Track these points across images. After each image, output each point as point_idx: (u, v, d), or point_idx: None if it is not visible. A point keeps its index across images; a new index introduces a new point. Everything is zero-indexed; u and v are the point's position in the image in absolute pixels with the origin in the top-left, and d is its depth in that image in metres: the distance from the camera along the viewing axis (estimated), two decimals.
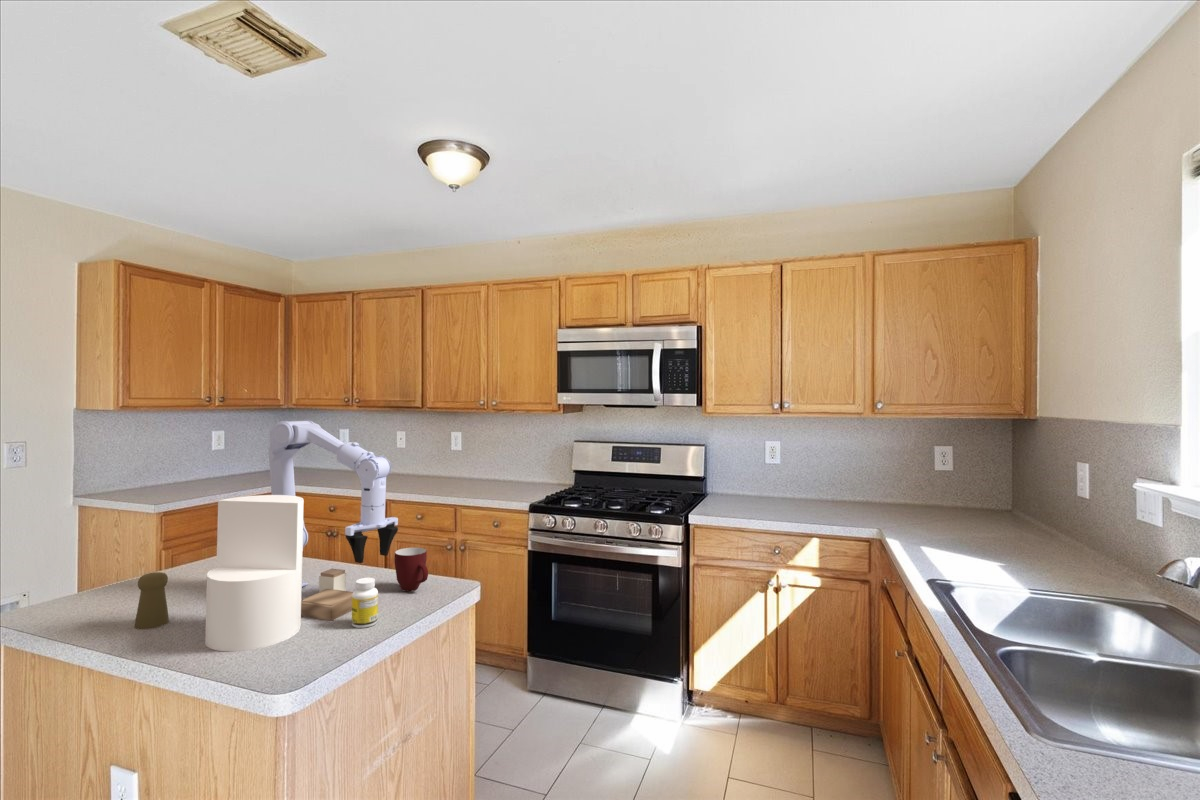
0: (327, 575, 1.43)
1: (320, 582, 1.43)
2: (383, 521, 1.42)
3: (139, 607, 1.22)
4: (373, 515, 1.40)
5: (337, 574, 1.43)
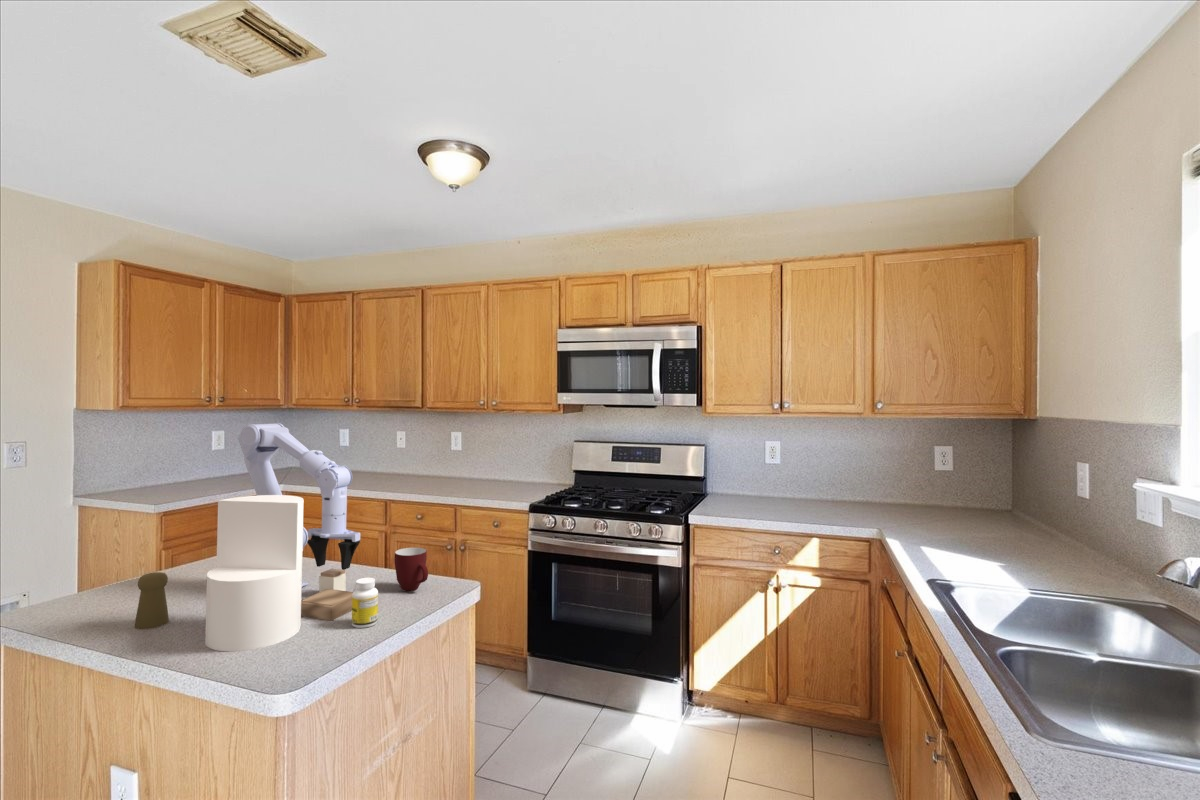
0: (327, 575, 1.43)
1: (320, 582, 1.43)
2: (330, 532, 1.42)
3: (139, 607, 1.22)
4: (322, 523, 1.43)
5: (337, 574, 1.43)
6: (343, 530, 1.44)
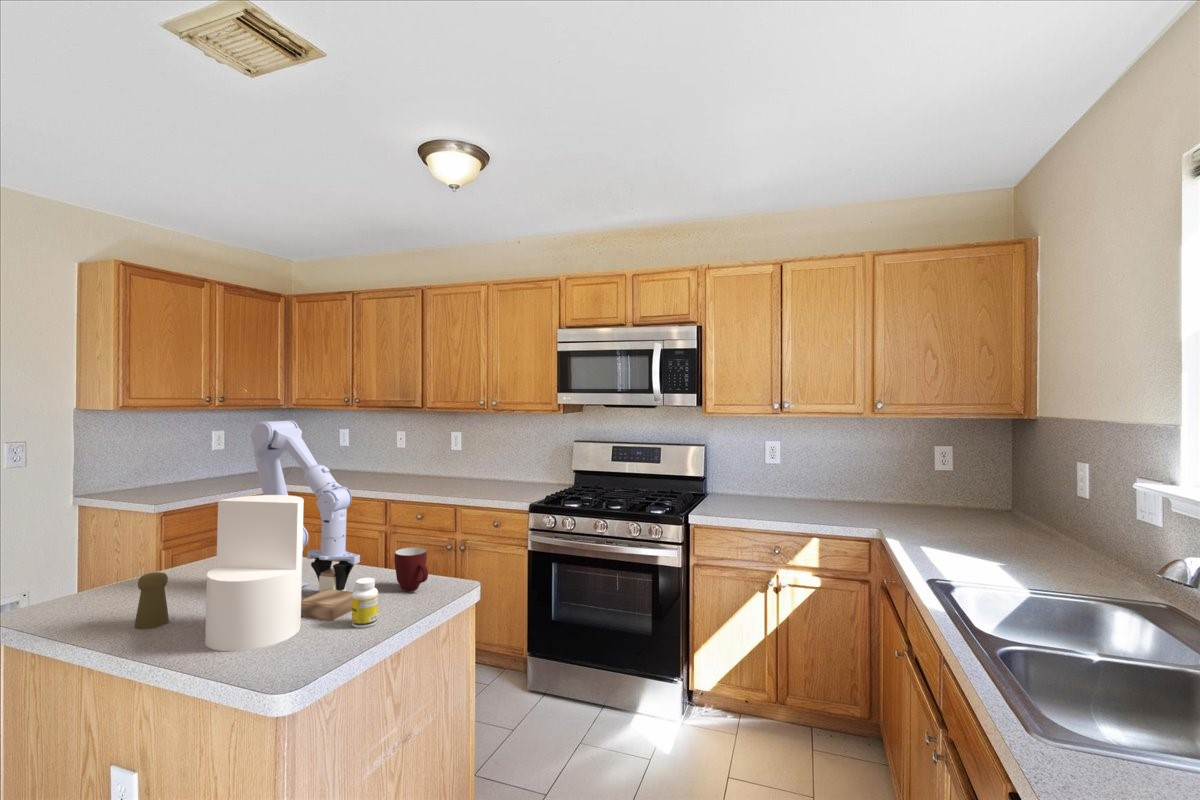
0: (327, 575, 1.43)
1: (320, 582, 1.43)
2: (329, 554, 1.42)
3: (139, 607, 1.22)
4: (321, 545, 1.43)
5: None
6: (342, 552, 1.44)
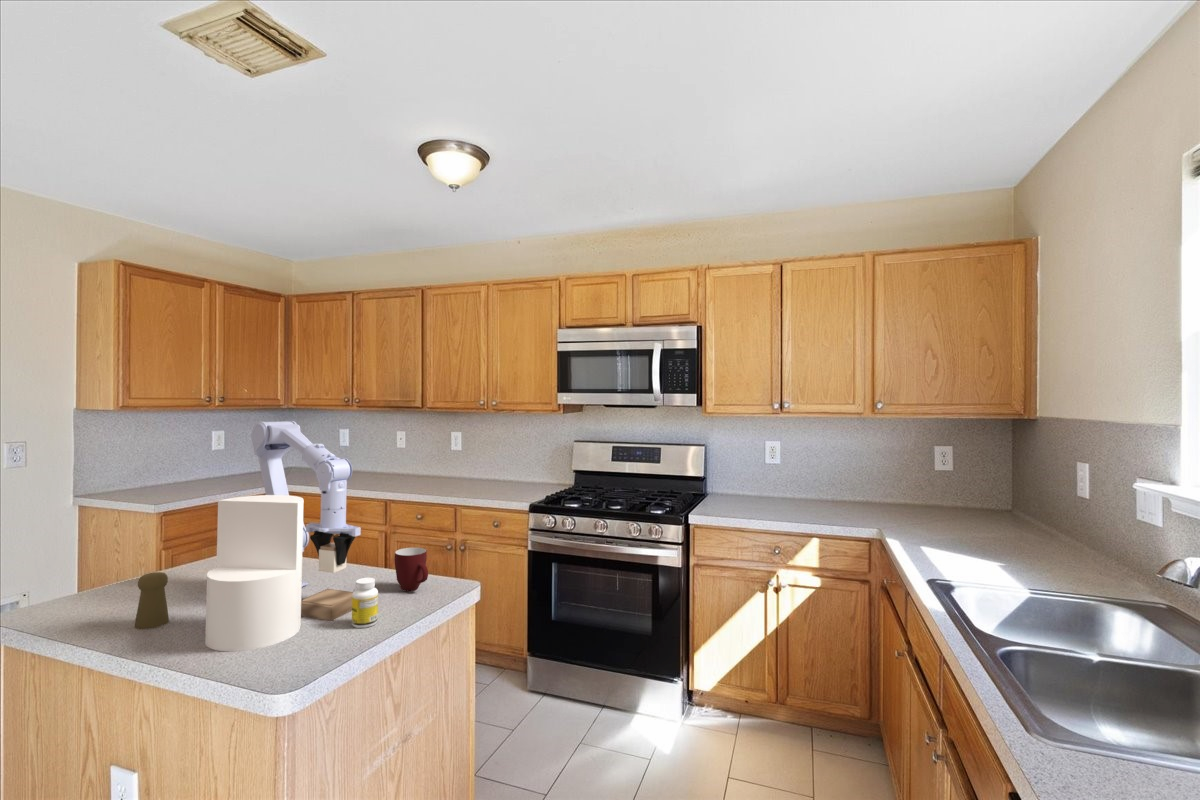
0: (327, 548, 1.38)
1: (320, 556, 1.38)
2: (329, 526, 1.37)
3: (139, 607, 1.22)
4: None
5: None
6: (343, 525, 1.39)
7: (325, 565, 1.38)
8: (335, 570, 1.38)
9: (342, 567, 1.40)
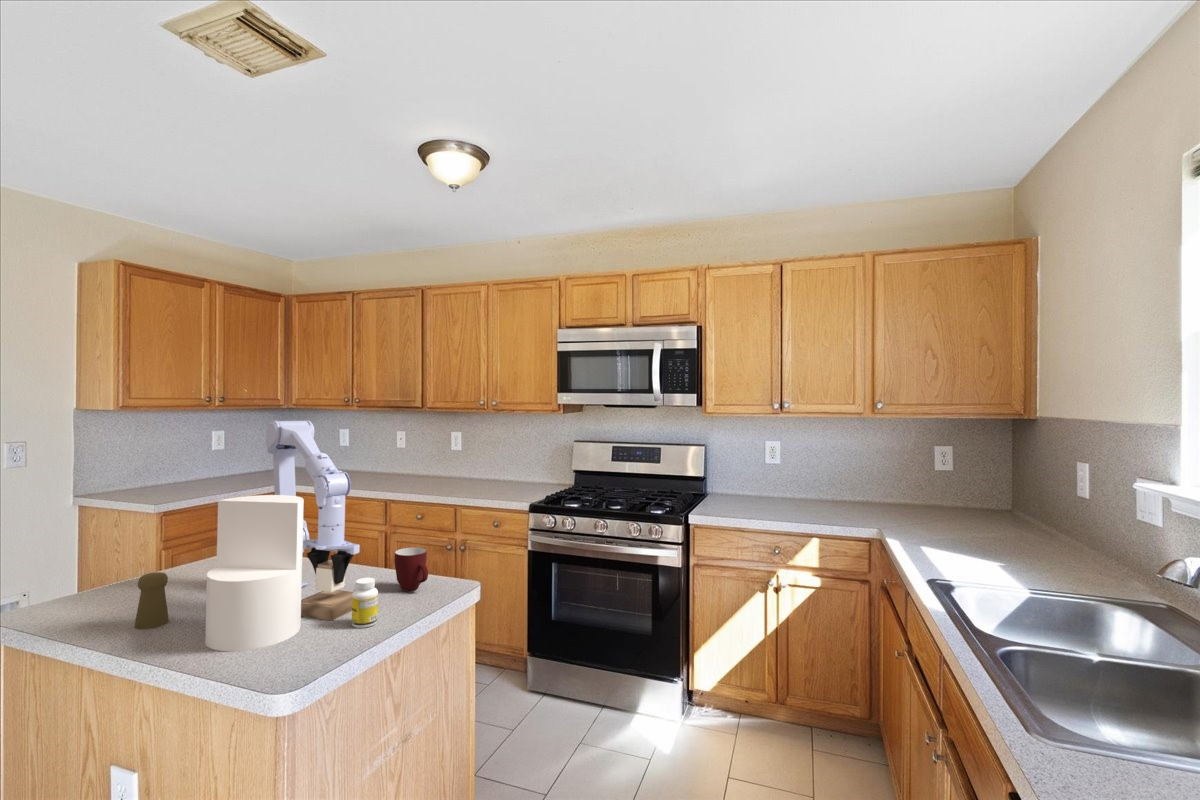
0: (325, 567, 1.32)
1: (317, 574, 1.32)
2: (326, 544, 1.31)
3: (139, 607, 1.22)
4: (318, 534, 1.32)
5: None
6: (341, 542, 1.33)
7: (323, 584, 1.32)
8: (333, 589, 1.32)
9: (340, 586, 1.34)
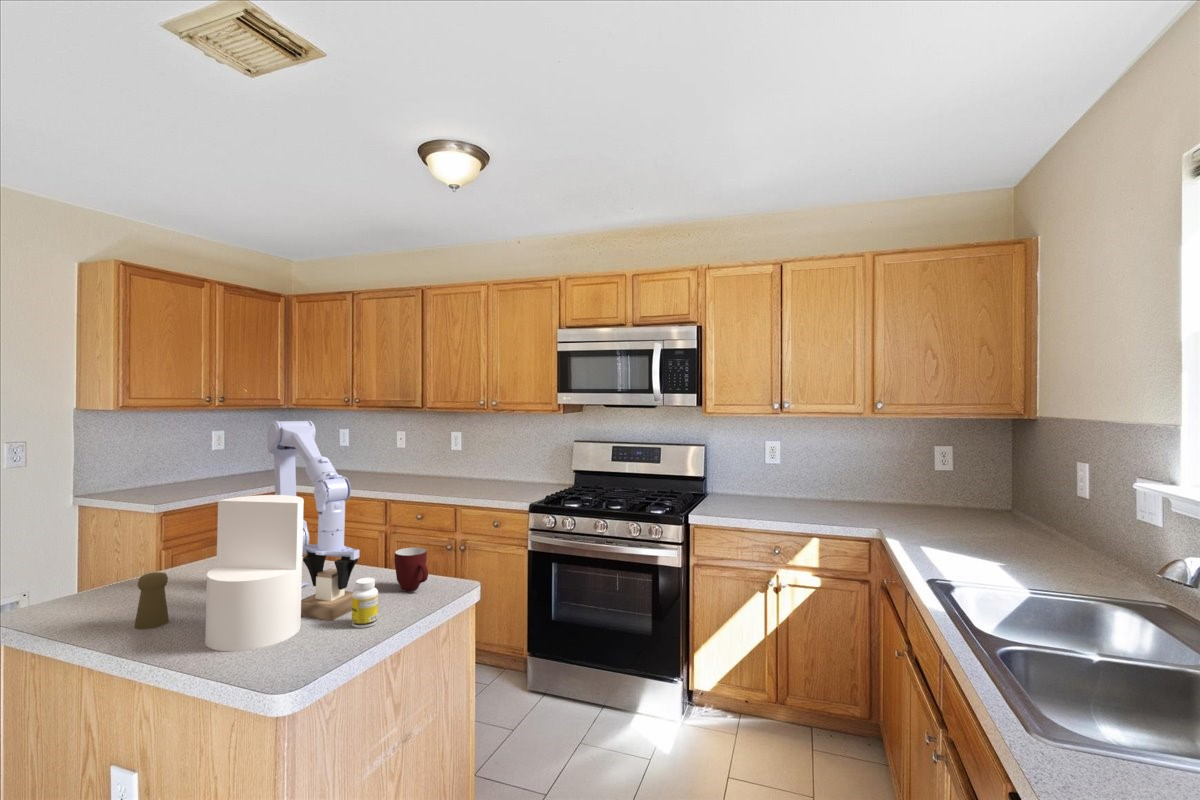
0: (324, 575, 1.32)
1: (317, 583, 1.32)
2: (326, 549, 1.31)
3: (139, 607, 1.22)
4: (318, 539, 1.32)
5: (335, 574, 1.33)
6: (341, 547, 1.33)
7: (322, 593, 1.32)
8: (333, 598, 1.32)
9: (340, 594, 1.34)
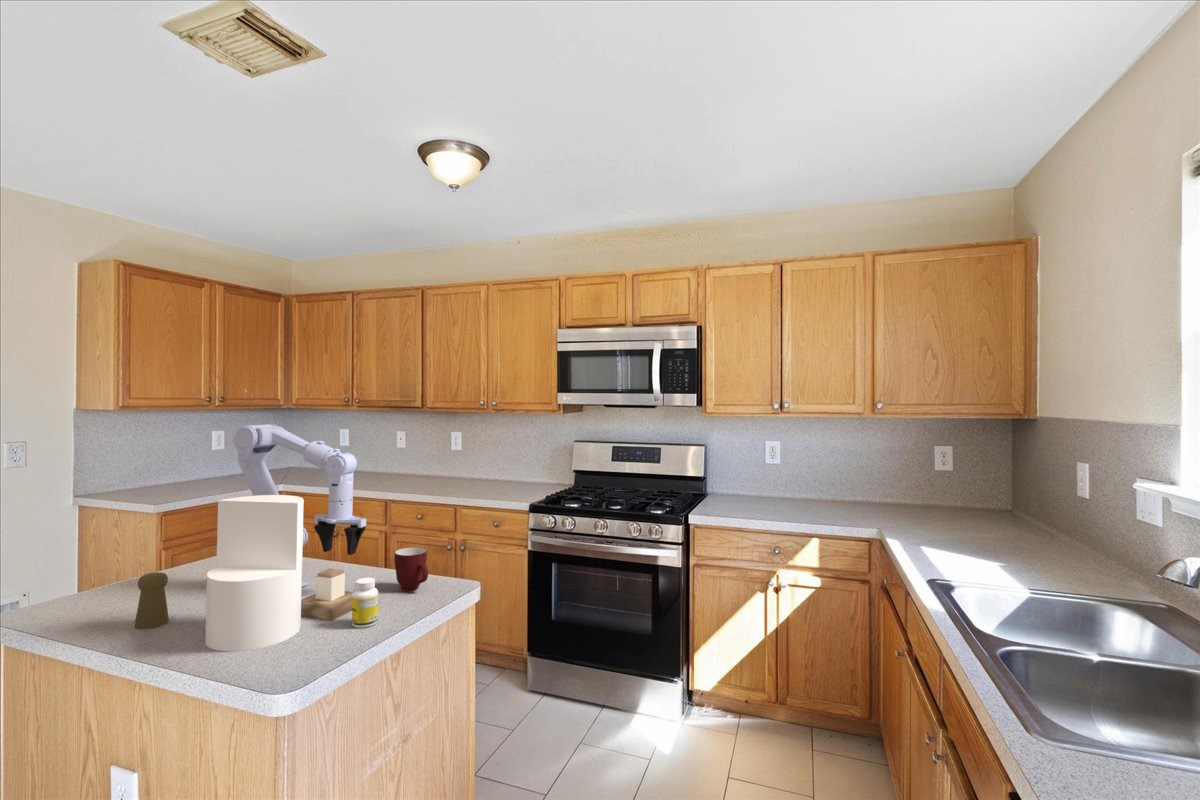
0: (324, 575, 1.32)
1: (317, 583, 1.32)
2: (336, 517, 1.43)
3: (139, 607, 1.22)
4: (328, 508, 1.44)
5: (335, 574, 1.33)
6: (349, 516, 1.45)
7: (322, 593, 1.32)
8: (333, 598, 1.32)
9: (340, 594, 1.34)
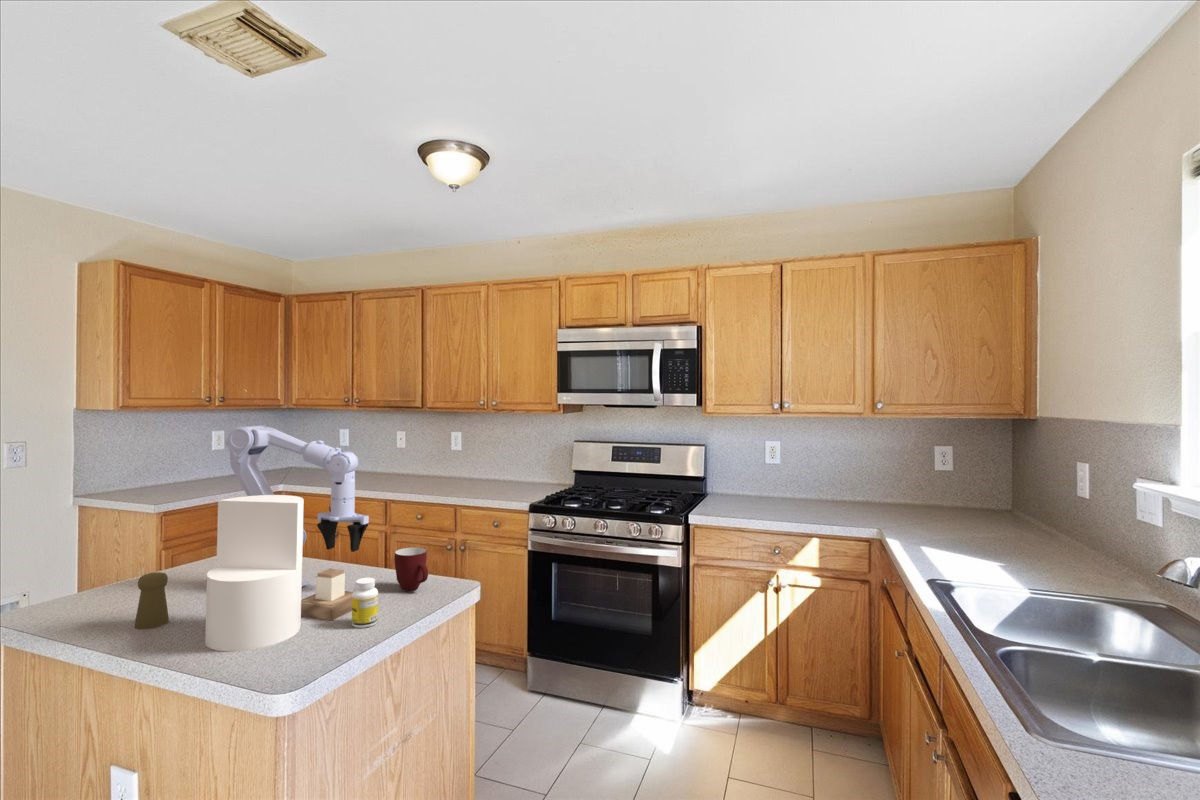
0: (324, 575, 1.32)
1: (317, 583, 1.32)
2: (339, 515, 1.46)
3: (139, 607, 1.22)
4: (331, 506, 1.47)
5: (335, 574, 1.33)
6: (352, 513, 1.48)
7: (322, 593, 1.32)
8: (333, 598, 1.32)
9: (340, 594, 1.34)
